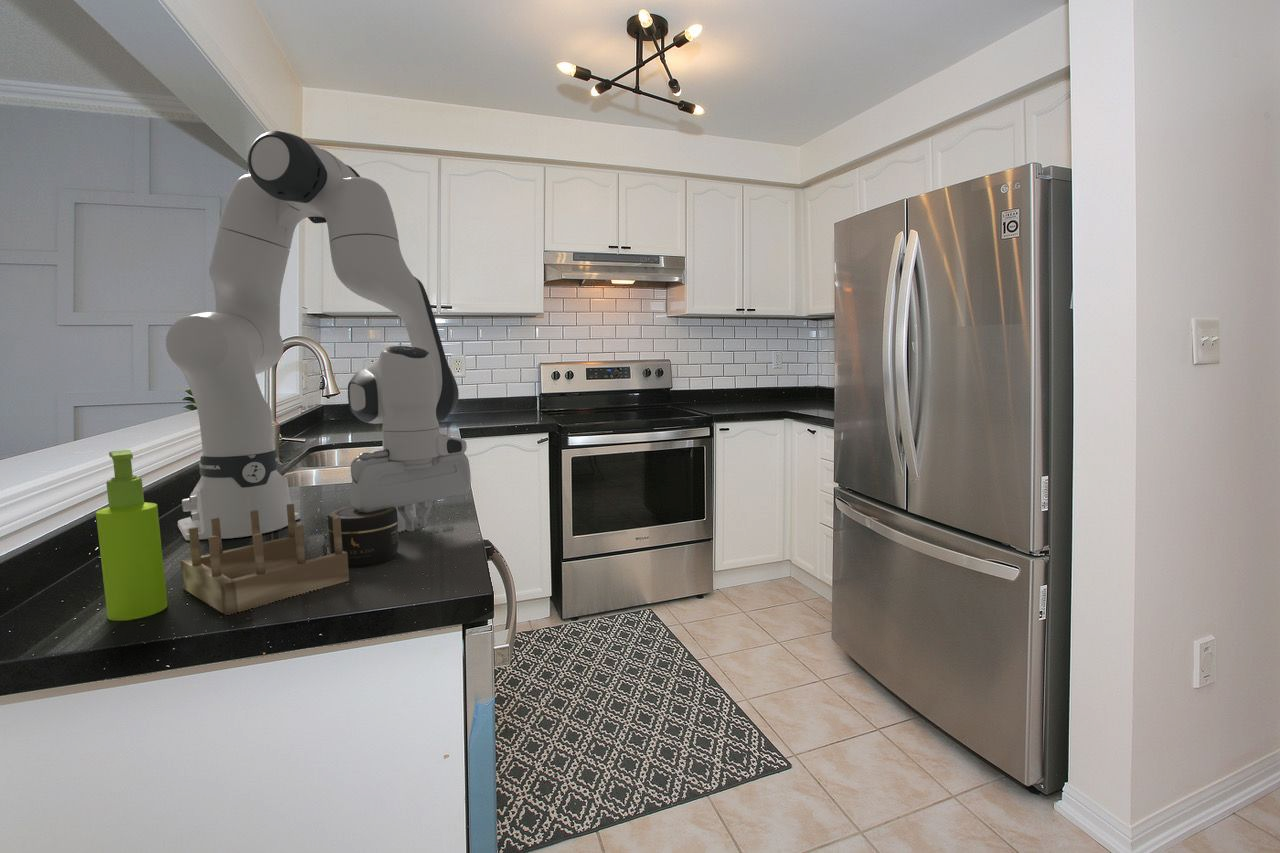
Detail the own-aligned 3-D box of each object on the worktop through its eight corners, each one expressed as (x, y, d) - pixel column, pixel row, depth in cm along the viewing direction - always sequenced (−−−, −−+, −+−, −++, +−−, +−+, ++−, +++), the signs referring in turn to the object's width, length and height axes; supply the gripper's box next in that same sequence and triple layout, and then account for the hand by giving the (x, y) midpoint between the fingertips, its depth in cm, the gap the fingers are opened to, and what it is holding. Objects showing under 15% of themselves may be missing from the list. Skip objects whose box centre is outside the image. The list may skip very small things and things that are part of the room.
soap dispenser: (162, 596, 84) (147, 446, 82) (170, 611, 79) (154, 451, 77) (105, 609, 80) (87, 451, 78) (109, 625, 75) (90, 457, 73)
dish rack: (183, 588, 87) (177, 524, 86) (299, 560, 99) (294, 502, 98) (227, 615, 78) (220, 543, 77) (349, 580, 90) (344, 517, 89)
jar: (321, 571, 94) (317, 520, 93) (339, 551, 103) (336, 505, 102) (393, 566, 96) (391, 516, 95) (404, 547, 105) (402, 501, 104)
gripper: (361, 456, 95) (366, 547, 96) (474, 440, 111) (477, 519, 112) (339, 452, 98) (345, 540, 100) (452, 438, 114) (455, 514, 116)
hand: (416, 529), depth 106 cm, fingers closed
